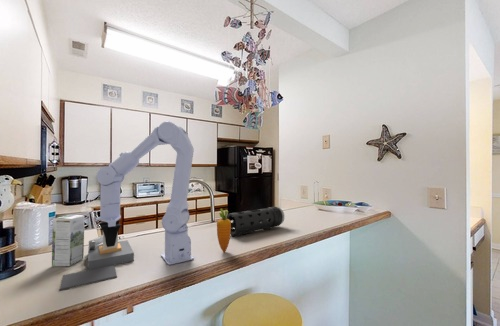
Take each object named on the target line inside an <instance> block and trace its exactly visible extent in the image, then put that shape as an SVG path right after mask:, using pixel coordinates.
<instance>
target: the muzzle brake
mask: <svg viewBox="0 0 500 326" xmlns="http://www.w3.org/2000/svg"><path fill="white" fill-rule="evenodd" d="M226 219H229V220H230V221H231V234H230V237H237V236H242V235H246V234H251V233H255V232H256V231H259V230H263V231H268V230H271V228H276V227H280V225H282V224H283V223H284V221H285V213H284V211H283V209H282V208H281V207H278V206H271V207H270V206H269V207H266V208H260V209H253V210H246V211H245V210H244V211H238V212H230V213H227V217H226Z"/></svg>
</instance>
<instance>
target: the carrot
mask: <svg viewBox="0 0 500 326" xmlns="http://www.w3.org/2000/svg"><path fill="white" fill-rule="evenodd" d="M219 210H220V212H219V213H218V215H219V216H220V219H218V220H217V221H216V233H217V234H216V235H217V240H218V244H219V247H220V249H221V251H222V252H223V253H225V252H226V251H227V250H228V247H229V243H230V240H231V223H232V221H230V220H229V219H226V217H227V215H228V214H229V211H228V210H227V209H225V210H223V208H220V209H219Z"/></svg>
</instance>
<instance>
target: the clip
mask: <svg viewBox="0 0 500 326" xmlns="http://www.w3.org/2000/svg"><path fill="white" fill-rule="evenodd" d="M101 244H103V234H102V235H100V236H98V237H95V238H94V239H90V240H89V241H88V247H89V250H94V249H95V246H97V245H101Z"/></svg>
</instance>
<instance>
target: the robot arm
mask: <svg viewBox="0 0 500 326" xmlns="http://www.w3.org/2000/svg"><path fill="white" fill-rule="evenodd" d="M161 145H162V146H164V145H165V146H166V145H170V146H171V147H172V149H173V150H175V153H176V158H175V165H174V173H173V178H172V180H173V181H172V188H171V194H170V195H171V196H170V201H169V203H168V204H167V206H166V211H165V213H164V215H163V217H162V218H161V225H162V228H163V229H164V253H162V254H160V256H161V257H162V259H163V260H164V261H165V262H166V263H167V265H169V266H171V265H174V264H179V263H183V262H188V261H192V260H194V259H195V258H194V256H192V240H191V237H190V236H189V232H188V230H189V229H188V227H189V226H188V225H187V223H188V222H189V221H190V217H191V216H190V212H189V204H188V194H189V186H190V180H191V173H192V164H193V160H194V158H193V157H194V151H195V150H194V149H195V148H194V146H193V144H192V142H191V140H190V137H189V133H188V132H187V131H186V130H185V129H184V128H183V127H181V126H178V125H177V124H175V123H174V122H172V121H170V120H169V121H168V120H167V121H163V122H162V123H160V125H159V126H156V127H154V129H153V130H152V131H151V133H149V135H148V136H147V137H145V139H143V140H142V142H140V143H139V144H138V145H137V146H136V147H135V148H133V150H132V151H124V152H121V153H120V154H119V157H117V158H116V159H115V160H114V161H112V162H110V163H109V164H108V166H102V167H100V168H99V169H98V171H97V172H96V180H97V182H98V183H99V185H100V189H99V190H100V200H99V201H100V203H99V205H100V209H99V211H100V212H99V213H100V214H99V215H100V216H98V217H95V221H100V223H99V224H100V229H101V230H102V233H103V232H104V235H105V240H106V245H107V247H111V246H114V245H115V242H116V237H117V233H118V234H119V230H120V228H121V227H122V224H121V223H120V220H121V218H122V215H121V188H122V182H123V181H124V179H125V176H127V175H128V174H129V173H130V172H132V171H133V170H134V169H135V168H136V167H137V166H138V165H140V159H141V158H143V157H144V156H145V155H147V154H148V153H149V152H152V150H153V149H155V148H156V147H158V146H161Z"/></svg>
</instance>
